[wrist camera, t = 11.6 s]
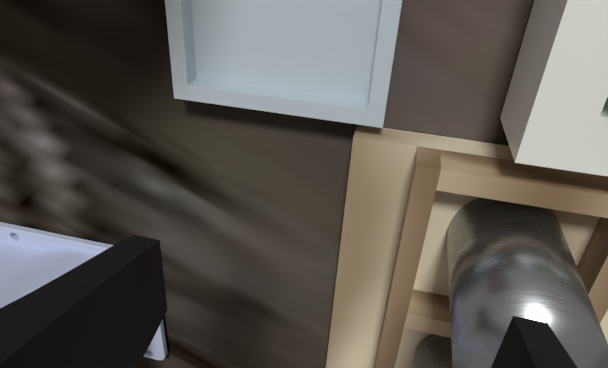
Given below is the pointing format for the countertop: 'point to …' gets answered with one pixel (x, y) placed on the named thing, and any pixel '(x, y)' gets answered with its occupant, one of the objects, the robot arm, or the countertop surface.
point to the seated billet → (433, 352)
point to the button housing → (561, 88)
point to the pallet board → (438, 236)
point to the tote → (286, 55)
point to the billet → (515, 283)
